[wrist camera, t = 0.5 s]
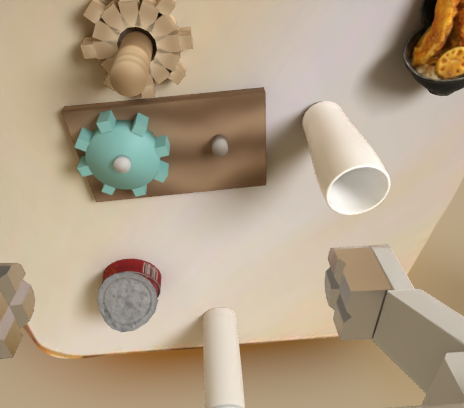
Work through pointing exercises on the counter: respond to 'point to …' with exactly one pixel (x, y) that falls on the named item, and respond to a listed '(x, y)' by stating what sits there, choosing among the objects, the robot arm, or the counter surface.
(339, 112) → the drinking glass
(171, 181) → the gear board
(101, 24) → the loose gear
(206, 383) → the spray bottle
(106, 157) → the gear
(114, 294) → the canned food
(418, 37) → the fried shrimp in bowl
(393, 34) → the counter surface
